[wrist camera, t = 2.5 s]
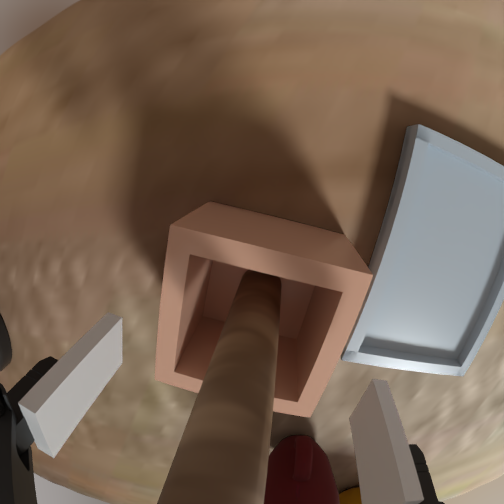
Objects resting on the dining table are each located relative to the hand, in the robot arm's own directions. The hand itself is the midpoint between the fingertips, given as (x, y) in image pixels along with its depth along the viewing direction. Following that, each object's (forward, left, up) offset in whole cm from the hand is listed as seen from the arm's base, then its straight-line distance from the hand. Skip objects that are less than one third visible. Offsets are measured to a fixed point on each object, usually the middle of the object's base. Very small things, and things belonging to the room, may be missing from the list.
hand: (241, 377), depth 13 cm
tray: (+14, +5, -11) cm, 19 cm away
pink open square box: (0, 0, -11) cm, 11 cm away
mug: (+8, -17, -11) cm, 22 cm away
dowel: (0, 0, -10) cm, 10 cm away
